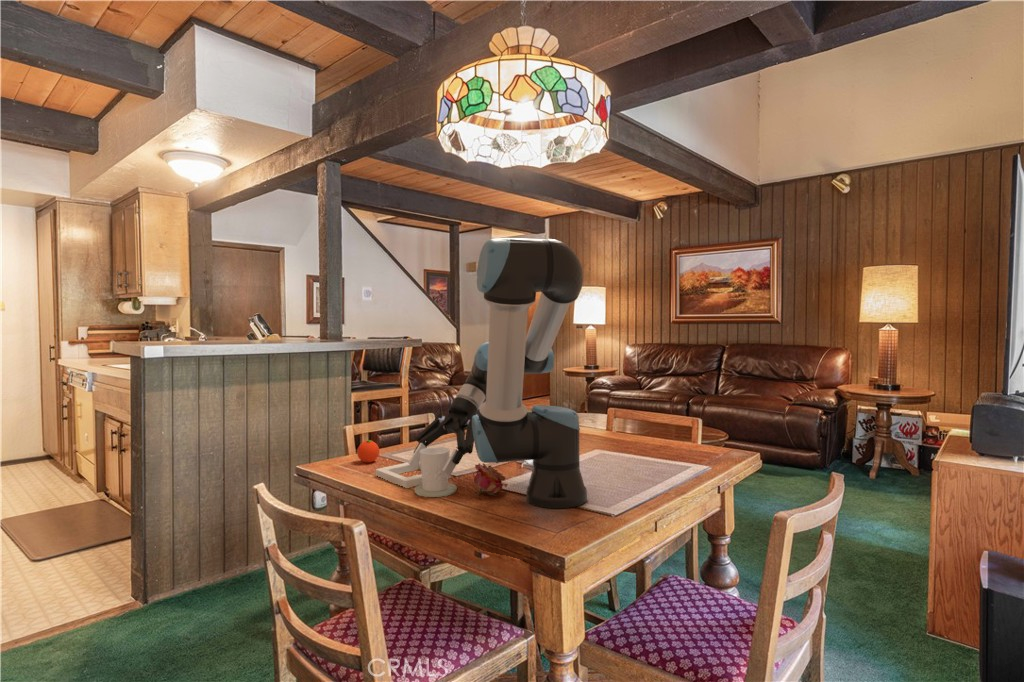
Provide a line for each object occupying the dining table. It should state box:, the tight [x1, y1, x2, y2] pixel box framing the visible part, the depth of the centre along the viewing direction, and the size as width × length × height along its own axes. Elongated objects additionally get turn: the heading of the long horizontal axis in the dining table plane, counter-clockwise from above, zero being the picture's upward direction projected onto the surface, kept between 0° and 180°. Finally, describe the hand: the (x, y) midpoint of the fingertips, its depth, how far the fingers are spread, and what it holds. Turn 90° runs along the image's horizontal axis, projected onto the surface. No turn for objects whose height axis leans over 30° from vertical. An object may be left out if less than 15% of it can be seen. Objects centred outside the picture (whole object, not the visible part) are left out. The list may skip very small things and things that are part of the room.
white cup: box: [420, 446, 451, 491], centre depth 146 cm, size 8×8×10 cm
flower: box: [472, 462, 509, 497], centre depth 143 cm, size 10×9×8 cm
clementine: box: [356, 439, 380, 464], centre depth 178 cm, size 8×7×7 cm
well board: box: [375, 461, 452, 489], centre depth 160 cm, size 17×15×2 cm
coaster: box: [414, 482, 457, 498], centre depth 146 cm, size 11×11×1 cm
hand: (428, 469), depth 144 cm, fingers open, 12 cm apart
